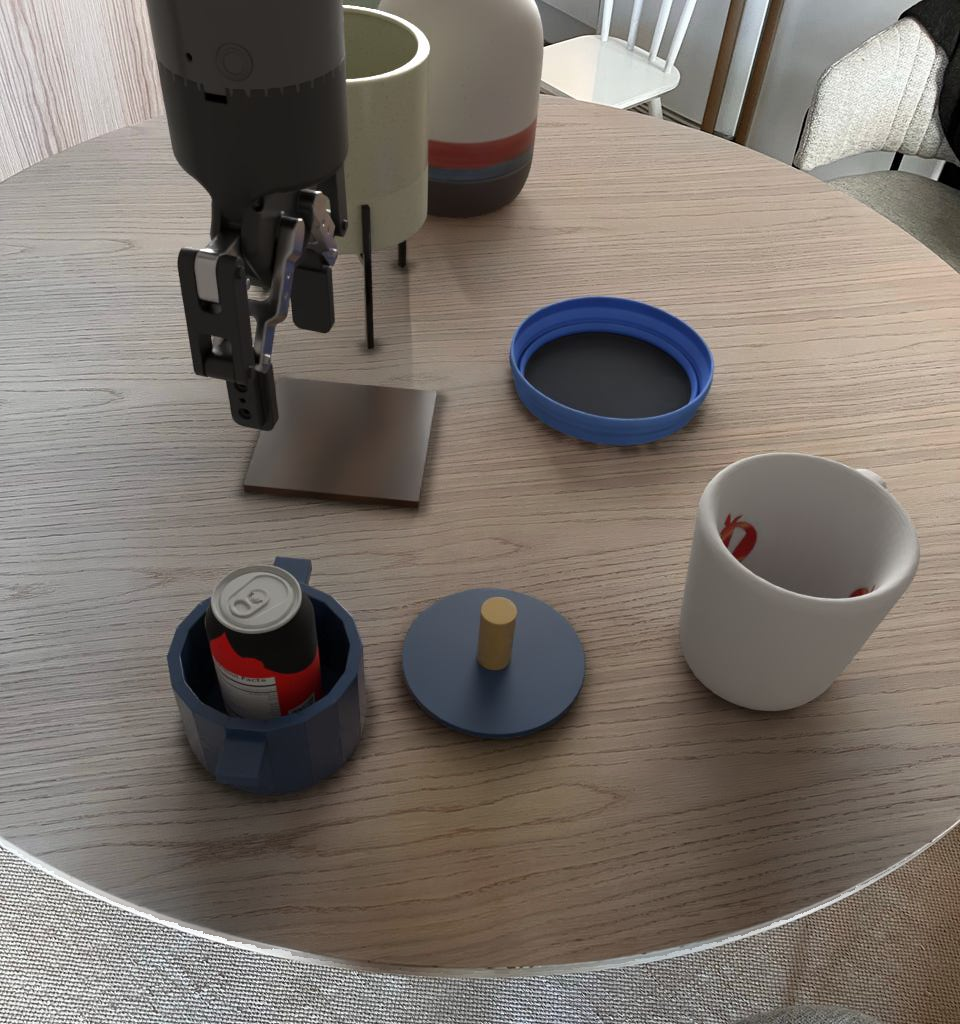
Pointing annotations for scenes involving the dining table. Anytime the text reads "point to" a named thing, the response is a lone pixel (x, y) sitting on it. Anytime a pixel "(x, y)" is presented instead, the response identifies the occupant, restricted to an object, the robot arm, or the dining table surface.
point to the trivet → (345, 443)
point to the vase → (478, 99)
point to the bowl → (610, 369)
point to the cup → (790, 576)
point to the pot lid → (493, 663)
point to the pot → (283, 740)
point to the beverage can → (263, 643)
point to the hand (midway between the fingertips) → (286, 373)
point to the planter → (384, 138)
